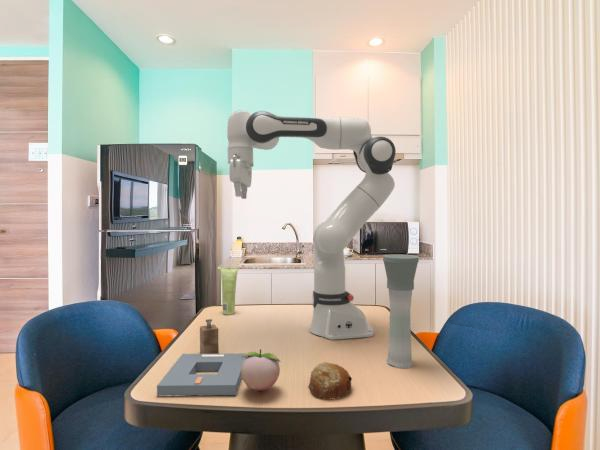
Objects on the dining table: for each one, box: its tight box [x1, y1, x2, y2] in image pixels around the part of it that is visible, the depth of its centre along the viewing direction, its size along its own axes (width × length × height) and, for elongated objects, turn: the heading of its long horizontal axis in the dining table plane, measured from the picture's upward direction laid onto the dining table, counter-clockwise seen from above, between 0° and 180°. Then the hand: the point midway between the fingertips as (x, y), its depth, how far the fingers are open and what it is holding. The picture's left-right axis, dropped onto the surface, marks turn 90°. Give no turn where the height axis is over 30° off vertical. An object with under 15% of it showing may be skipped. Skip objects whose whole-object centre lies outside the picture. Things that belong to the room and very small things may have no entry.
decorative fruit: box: [241, 349, 281, 392], centre depth 81 cm, size 9×8×10 cm
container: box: [382, 253, 420, 369], centre depth 97 cm, size 10×10×30 cm
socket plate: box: [156, 352, 247, 396], centre depth 88 cm, size 18×18×3 cm
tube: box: [219, 266, 239, 316], centre depth 145 cm, size 6×5×20 cm
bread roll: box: [307, 361, 353, 400], centre depth 83 cm, size 10×10×8 cm
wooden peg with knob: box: [199, 318, 220, 354], centre depth 103 cm, size 4×4×10 cm
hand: (241, 197), depth 121 cm, fingers open, 8 cm apart
